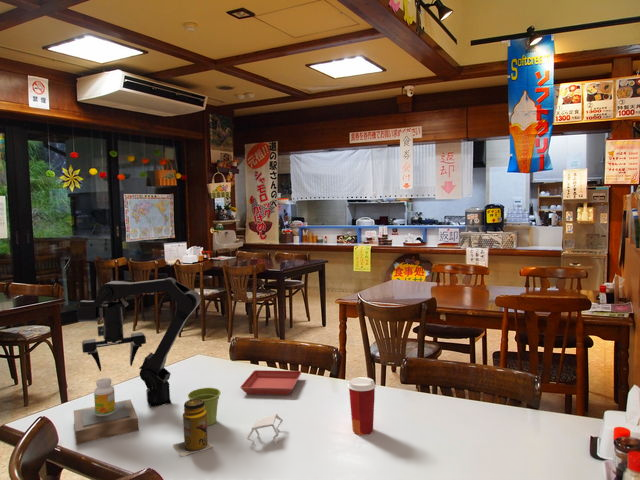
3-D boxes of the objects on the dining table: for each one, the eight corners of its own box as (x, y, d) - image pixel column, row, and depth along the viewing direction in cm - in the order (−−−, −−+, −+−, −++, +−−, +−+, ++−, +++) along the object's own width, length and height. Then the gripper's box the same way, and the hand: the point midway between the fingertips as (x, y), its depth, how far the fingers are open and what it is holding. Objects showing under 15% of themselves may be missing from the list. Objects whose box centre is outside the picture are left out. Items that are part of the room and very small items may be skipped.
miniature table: (274, 450, 127) (273, 431, 126) (245, 445, 129) (244, 427, 129) (291, 429, 138) (291, 412, 138) (264, 426, 141) (264, 409, 140)
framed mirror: (131, 410, 154) (130, 398, 154) (138, 430, 140) (137, 416, 140) (74, 422, 147) (73, 409, 147) (76, 444, 133) (75, 430, 132)
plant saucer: (254, 378, 182) (254, 369, 182) (302, 379, 179) (302, 370, 179) (239, 397, 164) (239, 387, 164) (292, 398, 162) (292, 388, 161)
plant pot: (228, 418, 147) (227, 389, 146) (208, 431, 138) (207, 401, 138) (203, 413, 151) (201, 385, 150) (182, 426, 142) (180, 397, 142)
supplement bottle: (91, 415, 142) (89, 382, 141) (105, 408, 147) (103, 376, 146) (105, 417, 140) (103, 384, 139) (119, 410, 145) (117, 378, 144)
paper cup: (379, 426, 138) (378, 377, 137) (373, 438, 131) (372, 387, 130) (352, 423, 141) (351, 375, 140) (345, 435, 134) (343, 384, 133)
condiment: (213, 447, 129) (211, 403, 128) (181, 457, 124) (179, 411, 124) (203, 437, 135) (201, 394, 134) (172, 446, 130) (170, 402, 130)
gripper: (139, 312, 170) (142, 356, 171) (79, 319, 161) (82, 366, 162) (144, 318, 160) (147, 365, 161) (81, 326, 151) (84, 376, 152)
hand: (115, 368), depth 159 cm, fingers open, 9 cm apart
